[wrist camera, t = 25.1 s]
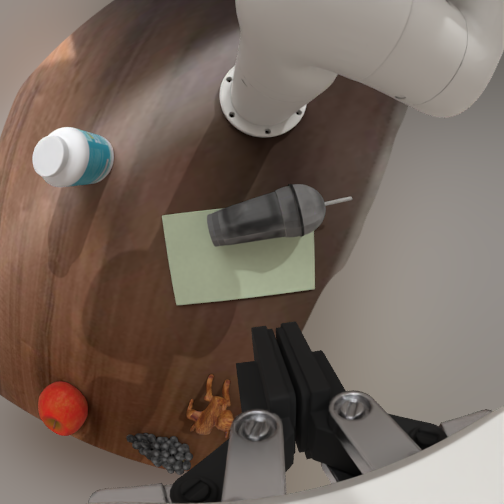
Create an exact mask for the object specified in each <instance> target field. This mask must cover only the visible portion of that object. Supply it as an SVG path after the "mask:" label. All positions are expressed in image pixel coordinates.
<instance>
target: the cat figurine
mask: <svg viewBox="0 0 504 504" xmlns="http://www.w3.org/2000/svg"><path fill="white" fill-rule="evenodd" d="M213 378H214V375H211V374H210V375H209V376H208V379H207V383H206V396H205V397H204V399H205V400H206V401H209V402H210V403H209V405H208V406H207V408H206V409H205V410H204V411H201V412H200V411H195V410H193V409H192V404H193V401H194V400H193V399H192V400H191V401H190V403H189V406H188V408H187V412H186V416H187V418H188V419H191V420H193V421H195V422H194V424H193V425H192V427H191V429H190V431H193V430H194V429H195V427H196V432H197V433H198V434H201V435H205V434H209V433H210V432H211V430H212V428H213V427H214V426H216V427H217V428H218V429H219V430H221V431H225V436H226V438H227V435H228V430H229V429H230V428H231V424H232V421H233V415H232V412H231V411H229V410H226V407H229V406H230V398H229V393H228V389H229V384H230V382H231V381H230V380H225V382H224V384H223V388H222V394H223V398H222V397H219V396H212V390H211V384H212V380H213Z"/></svg>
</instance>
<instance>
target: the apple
mask: <svg viewBox="0 0 504 504" xmlns="http://www.w3.org/2000/svg"><path fill="white" fill-rule="evenodd" d="M38 410H39V414H40V418H41V420H42V421H43V422H44V424H45V425H46V426H47V427H48V428H49V429H50V430H52V431H53V432H55V433H56V434H59V435H62V436H68V435H71V434H73V433H75V432H76V431H77V430H79V428H80V427H81V426H82V425H83V423H84V422H85V420H86V418H87V414H88V403H87V401H86V399H85V397H84V396H83V394H82V393H81V392H80V391H79V390H78V389H77V388H76V387H74V386H73V385H71V384H69V383H67V382H62V381H58V382H54V383H52V384H50V385H48V386H47V387H46V388H45V389H44V390H43V392H42V393H41V395H40V397H39V401H38Z"/></svg>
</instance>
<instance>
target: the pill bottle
mask: <svg viewBox="0 0 504 504" xmlns="http://www.w3.org/2000/svg"><path fill="white" fill-rule="evenodd" d="M113 161H114V152H113V148H112V146H111V144H110V143H109V141H108V140H107V139H105V138H104V137H102V136H99V135H96V134H92V133H89V132H85V131H82V130H79V129H75V128H71V127H63V128H59V129H57V130H55V131H53V132H52V133H51V134H49V135H48V136H46V137H44V138H42V139H41V140H40V141H39V142H38V144H37V145H36V147H35V149H34V153H33V166H34V169H35V171H36V172H37V173H38V174H39V175H40V176H42V177H43V179H44V180H45V181H46V182H47V183H48V184H50V185H52V186H54V187H69V186H77V185H87V184H94V183H97V182H100V181H101V180H103V179H104V178H105V177H106V176H107V175H108V174H109V172H110V170H111V168H112V166H113Z"/></svg>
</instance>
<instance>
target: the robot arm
mask: <svg viewBox="0 0 504 504" xmlns="http://www.w3.org/2000/svg"><path fill="white" fill-rule="evenodd" d="M235 2H236V11H237V17H238V21H239V25H240V29H241V34H240V42H239V48H238V53H237V58H236V64H235V66H234V67H233V68H232V69H230V70H229V72H228V73H227V74H226V75H225V77H224V79H223V81H222V83H221V87H220V95H219V96H220V105H221V108H222V111H223V113H224V115H225V117H226V118H227V119H228V121H229V122H230V123H231V124H232V125H233V126H234V127H235V128H237V129H238V130H240V131H242V132H243V133H245V134H248V135H251V136H255V137H274V136H278V135H281V134H284V133H286V132H287V131H289V130H291V129H292V128H293V127H294V126H296V125H297V123H298V122H299V121H300V120H301V118H302V117H303V115H304V112H305V109H306V105H307V103H309V102H310V101H311V100H313V99H314V98H315V97H317V96H318V95H319V94H321V93H322V92H323V91H325V90H326V89H327V88H328V87H329V86H330V85H331V84H332V83H333V81H334V80H335V78H336V76H337V74H339V75H342V76H344V77H347V78H349V79H352V80H355V81H358V82H361V83H363V84H365V85H367V86H370V87H372V88H374V89H376V90H378V91H380V92H382V93H384V94H386V95H388V96H390V97H392V98H394V99H396V100H398V101H400V102H402V103H404V104H406V105H408V106H410V107H412V108H414V109H416V110H418V111H420V112H422V113H424V114H427V115H430V116H434V117H441V118H445V117H452V116H455V115H457V114H460V113H462V112H463V111H465V110H466V109H468V108H469V107H470V106H471V105H472V104H473V103H474V102H475V101H476V100H477V99H478V97H480V95H481V94H482V92H483V91H484V89H485V88H486V86H487V85H488V83H489V81H490V79H491V77H492V75H493V73H494V71H495V69H496V67H497V65H498V62H499V60H500V58H501V55H502V53H503V51H504V0H235ZM228 80H230V81H231V82H227V81H228ZM296 112H298V113H299V115H297V114H296ZM231 114H232V115H233V116H234V117H230V115H231ZM265 131H268V134H266V133H265ZM252 340H253V350H254V360H255V361H252V362H244V363H236V368H237V376H238V384H239V392H240V400H241V408H242V413H241V414H239V415H238V416H236V418H235V419H234V420H233V421H232V424H231V428H230V436H229V439H228V440H227V441H225V442H224V443H223V444H222V445H221V446H219V447H218V448H217V449H216V450H215V451H213V452H212V453H211V454H210V455H208V456H207V457H206V458H205V459H203V460H202V461H201V462H200V463H198V464H197V465H196V466H194V467H193V468H192V469H191V470H189V471H188V472H187V473H185V474H184V475H183V476H181V477H180V478H178V479H177V480H176V481H175V483H173V484H171V485H165V486H163V484H162V483H159V484H151V485H144V486H134V487H123V488H105V489H101V490H97V491H96V492H94V493H93V494H92V495H91V496H90V498H89V501H88V504H504V406H502V407H500V408H498V409H496V410H494V411H492V410H487V409H486V410H481V411H478V412H475V413H472V414H469V415H465V416H463V417H459V418H456V419H452V420H449V421H445V422H441V424H440V426H437V425H434V424H431V423H427V422H422V421H417V420H413V419H408V418H404V417H399V416H395V415H391V414H387V413H386V412H385V410H384V409H383V408H382V407H381V406H380V405H379V404H378V403H377V402H376V401H375V400H374V399H373V398H372V397H371V396H370V395H368V394H366V393H363V392H360V391H345V389H344V387H343V386H342V384H341V382H340V380H339V379H338V377H337V375H336V373H335V372H334V370H333V368H332V367H331V365H330V363H329V361H328V360H327V358H326V356H325V354H324V353H323V352H322V351H321V350H320V351H315V352H312V351H311V350H310V348H309V346H308V344H307V342H306V340H305V338H304V336H303V334H302V332H301V330H300V328H299V327H298V325H297V323H296V322H289V323H282V324H281V328H276V338H275V335H274V332H273V330H272V329H267V327H266V326H261V327H253V328H252ZM295 441H296V444H297V448H298V451H299V452H305V455H306V458H307V459H310V458H312V459H313V460H316V461H319V462H321V466H322V469H323V471H324V472H325V474H326V476H327V477H328V479H329V480H330V482H331V484H330V485H326V486H322V487H318V488H314V489H309V490H305V491H300V492H295V493H290V494H286V478H285V472H286V471H287V470H288V469H289V468H290V467H291V465H292V464H293V460H294V453H295Z"/></svg>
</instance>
